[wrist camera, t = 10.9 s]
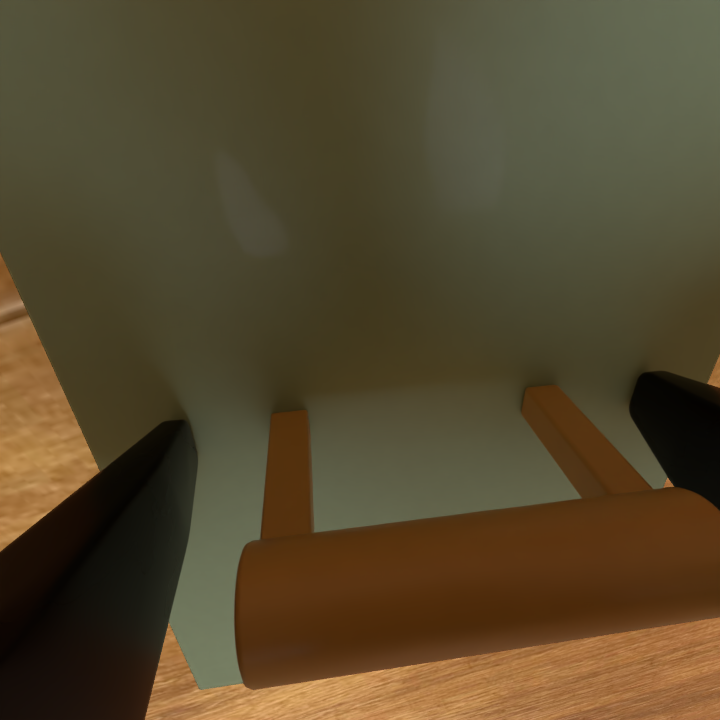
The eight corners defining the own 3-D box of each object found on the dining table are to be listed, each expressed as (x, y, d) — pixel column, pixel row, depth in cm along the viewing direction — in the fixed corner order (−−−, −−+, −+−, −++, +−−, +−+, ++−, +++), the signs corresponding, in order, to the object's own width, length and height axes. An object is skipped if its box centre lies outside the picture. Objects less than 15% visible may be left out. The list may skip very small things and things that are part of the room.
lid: (590, 604, 15) (717, 820, 10) (203, 661, 14) (158, 931, 9) (838, -50, 6) (2020, -388, 2) (-86, -32, 5) (-1839, -649, 1)
